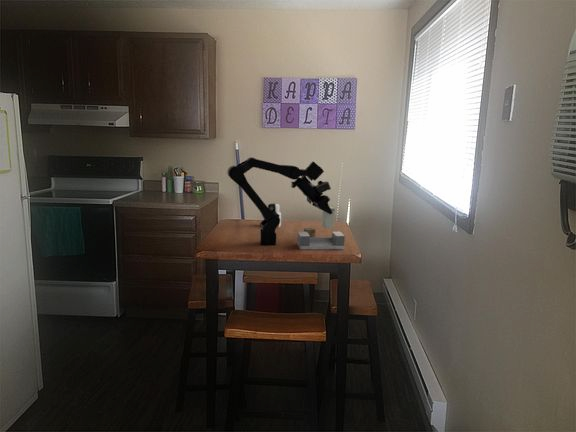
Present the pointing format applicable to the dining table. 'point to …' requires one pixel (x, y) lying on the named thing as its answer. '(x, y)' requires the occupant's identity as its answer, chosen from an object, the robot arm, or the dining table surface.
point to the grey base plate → (321, 243)
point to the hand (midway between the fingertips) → (329, 212)
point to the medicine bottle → (276, 211)
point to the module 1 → (303, 239)
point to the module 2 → (338, 238)
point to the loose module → (328, 219)
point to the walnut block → (310, 231)
